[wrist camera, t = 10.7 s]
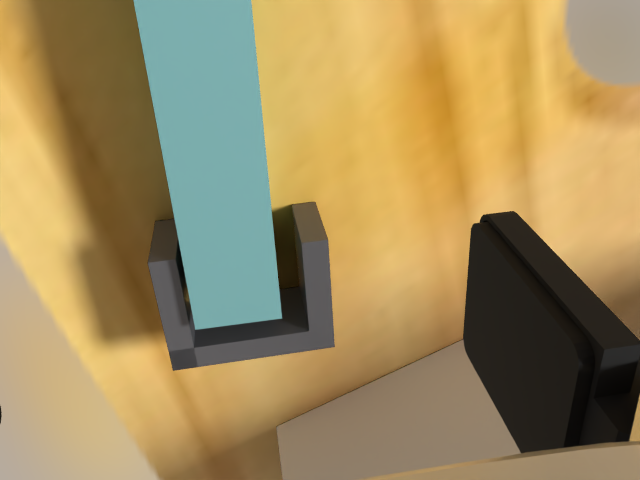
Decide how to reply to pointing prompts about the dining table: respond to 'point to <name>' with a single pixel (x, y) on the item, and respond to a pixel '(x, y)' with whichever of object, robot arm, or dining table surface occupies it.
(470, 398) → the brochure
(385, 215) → the dining table surface
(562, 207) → the dining table surface
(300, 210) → the end cap
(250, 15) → the slat
